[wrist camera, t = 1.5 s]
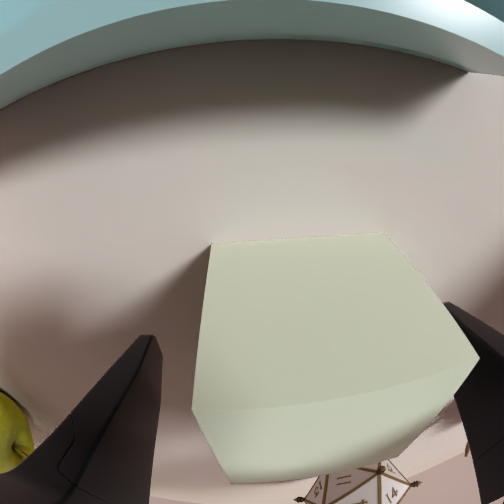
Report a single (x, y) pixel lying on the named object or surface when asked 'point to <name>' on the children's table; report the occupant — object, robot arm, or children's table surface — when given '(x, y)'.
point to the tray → (234, 31)
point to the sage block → (320, 356)
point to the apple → (13, 435)
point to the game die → (360, 486)
